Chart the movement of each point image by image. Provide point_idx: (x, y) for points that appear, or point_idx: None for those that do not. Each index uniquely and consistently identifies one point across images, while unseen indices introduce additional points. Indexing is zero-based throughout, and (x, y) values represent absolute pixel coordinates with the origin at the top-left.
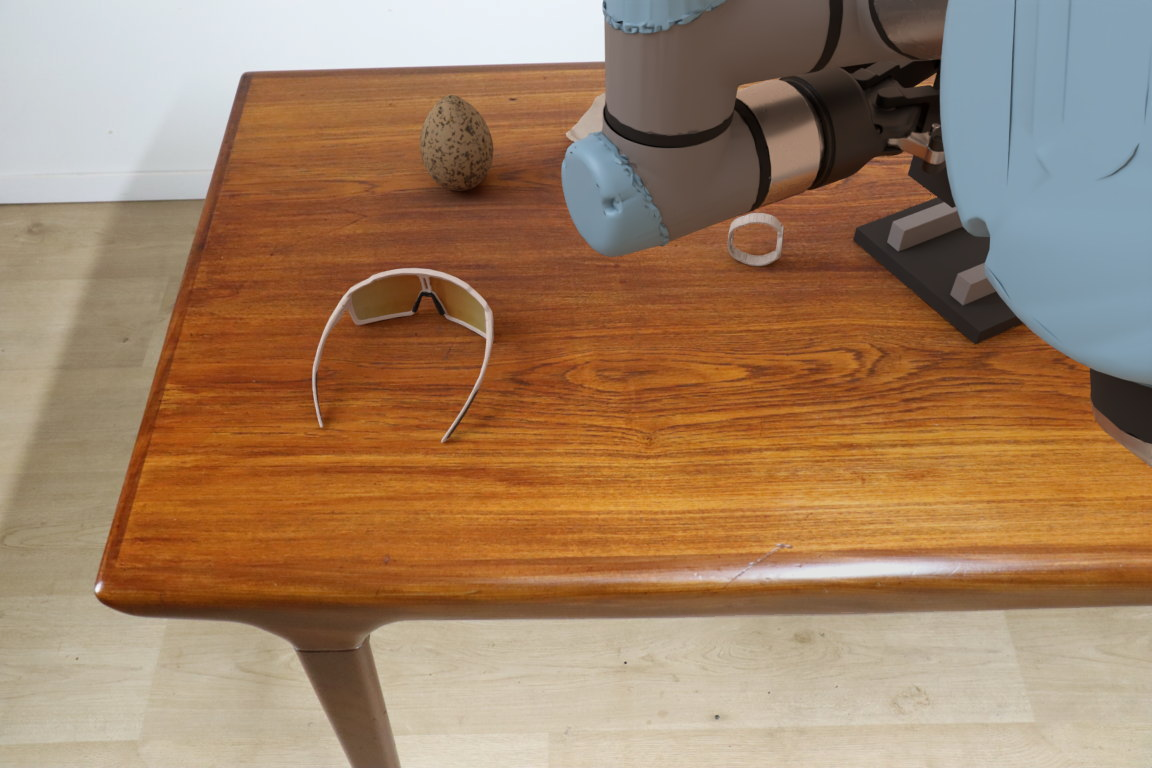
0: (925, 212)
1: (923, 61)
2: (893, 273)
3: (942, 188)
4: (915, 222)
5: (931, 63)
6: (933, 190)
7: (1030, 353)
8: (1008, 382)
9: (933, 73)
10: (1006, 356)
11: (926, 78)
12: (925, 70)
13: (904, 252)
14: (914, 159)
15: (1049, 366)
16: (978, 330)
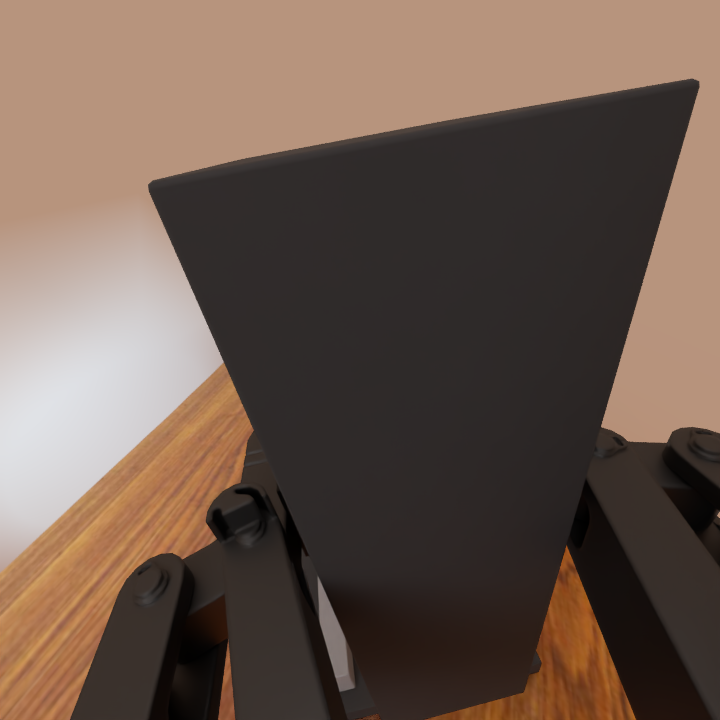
0: (325, 612)
1: (332, 709)
2: (377, 712)
3: (486, 693)
4: (338, 642)
5: (317, 634)
6: (465, 705)
7: (551, 602)
8: (615, 668)
9: (318, 618)
10: (559, 638)
11: (330, 663)
12: (330, 677)
13: (359, 677)
14: (387, 715)
15: (573, 592)
16: (539, 664)
